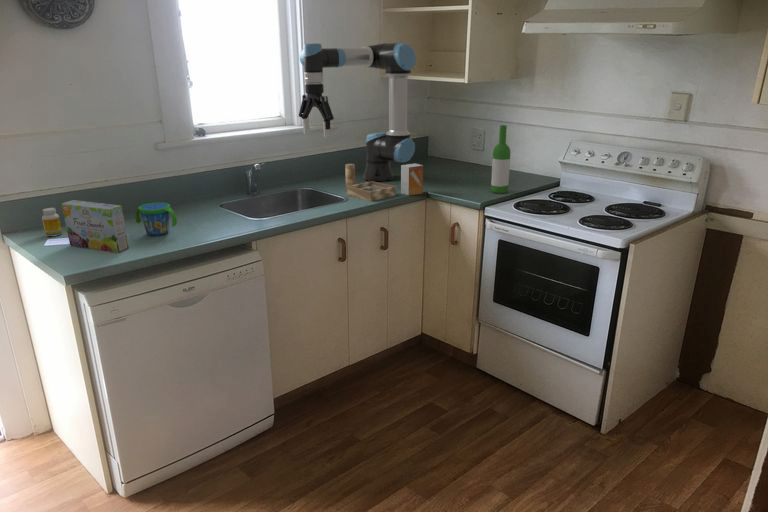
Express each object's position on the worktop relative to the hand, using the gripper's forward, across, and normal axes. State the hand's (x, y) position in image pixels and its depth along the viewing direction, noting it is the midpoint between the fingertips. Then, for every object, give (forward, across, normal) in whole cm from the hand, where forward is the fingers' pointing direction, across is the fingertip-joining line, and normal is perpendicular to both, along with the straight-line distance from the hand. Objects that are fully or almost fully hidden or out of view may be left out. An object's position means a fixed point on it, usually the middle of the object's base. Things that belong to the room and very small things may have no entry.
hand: (316, 135), depth 249 cm
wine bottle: (+29, +47, +67) cm, 87 cm away
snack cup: (+28, -3, -72) cm, 77 cm away
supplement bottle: (+27, -28, -99) cm, 107 cm away
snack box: (+27, -2, -93) cm, 97 cm away
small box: (+28, +21, +37) cm, 51 cm away
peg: (+28, -4, +22) cm, 36 cm away
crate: (+28, +10, +22) cm, 37 cm away
